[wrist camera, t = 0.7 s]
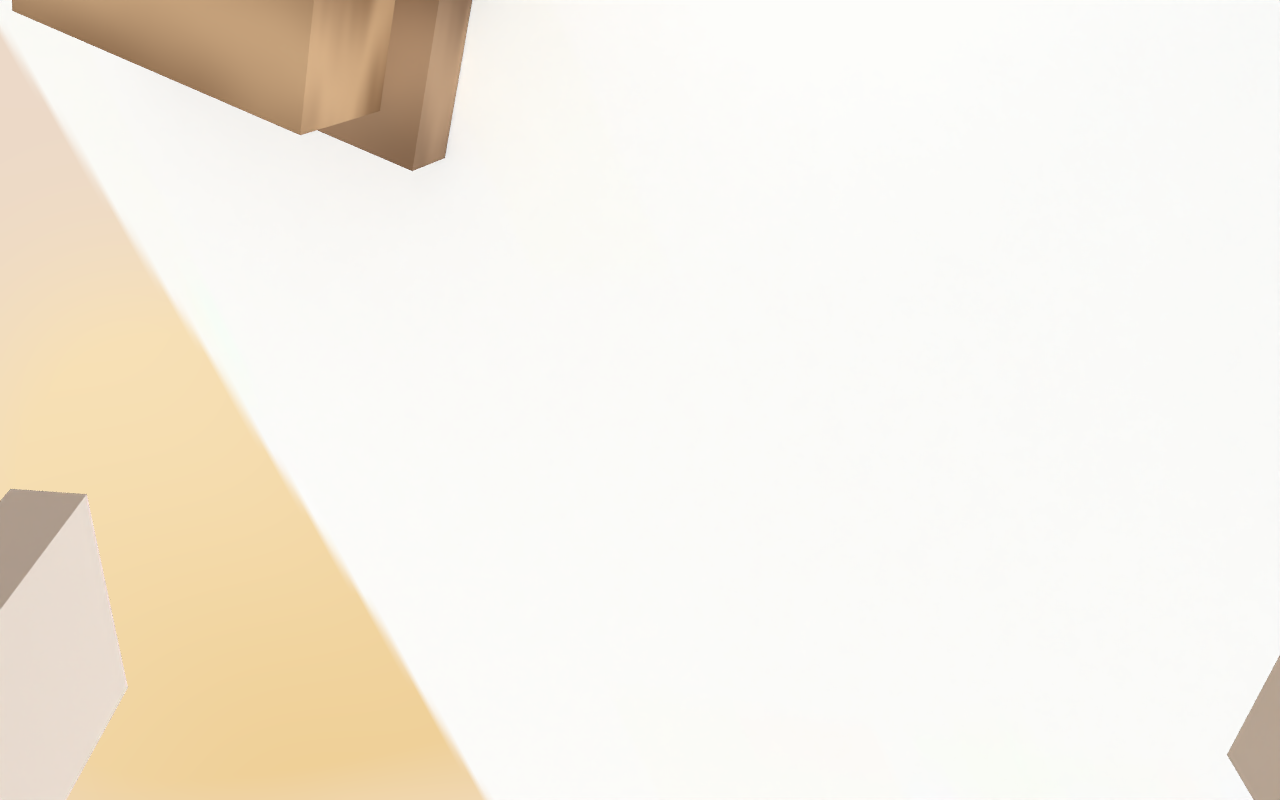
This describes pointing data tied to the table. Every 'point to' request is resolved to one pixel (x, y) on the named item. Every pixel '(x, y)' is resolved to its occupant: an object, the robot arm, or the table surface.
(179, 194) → the table surface
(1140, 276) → the table surface
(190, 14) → the walnut plinth
